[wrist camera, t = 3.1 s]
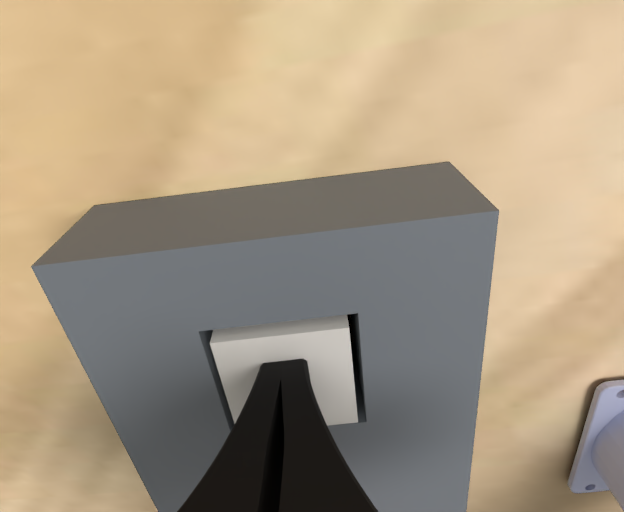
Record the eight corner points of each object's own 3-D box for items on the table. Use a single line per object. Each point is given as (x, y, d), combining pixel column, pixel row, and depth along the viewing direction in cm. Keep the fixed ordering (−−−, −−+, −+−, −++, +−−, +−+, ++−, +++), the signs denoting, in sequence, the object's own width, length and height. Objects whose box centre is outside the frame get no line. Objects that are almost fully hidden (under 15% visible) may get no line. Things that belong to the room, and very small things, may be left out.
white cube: (337, 257, 16) (349, 327, 12) (345, 341, 18) (358, 422, 14) (228, 269, 16) (209, 343, 12) (249, 352, 18) (238, 434, 14)
